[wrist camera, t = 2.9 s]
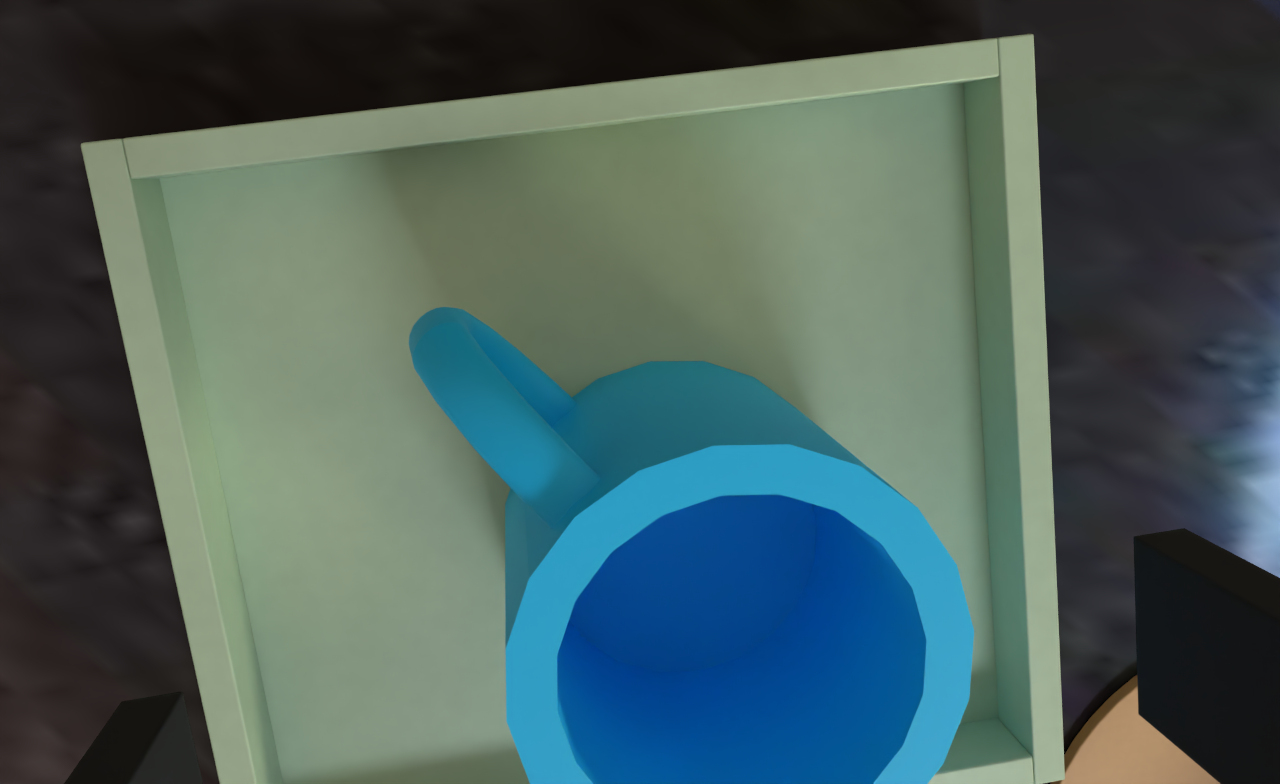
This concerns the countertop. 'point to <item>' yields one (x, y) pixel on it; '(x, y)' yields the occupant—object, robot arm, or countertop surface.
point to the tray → (572, 367)
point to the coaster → (1127, 749)
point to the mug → (702, 579)
